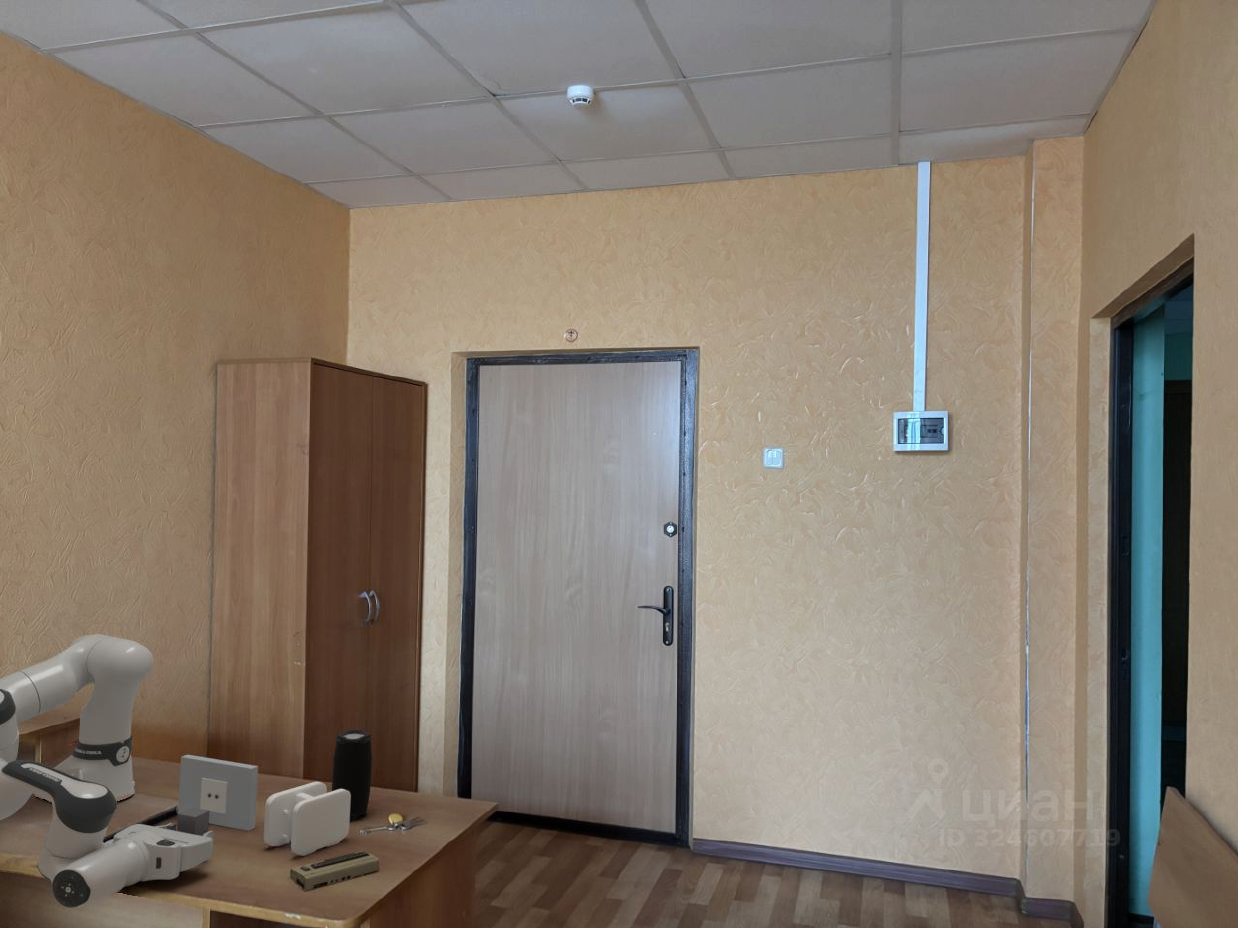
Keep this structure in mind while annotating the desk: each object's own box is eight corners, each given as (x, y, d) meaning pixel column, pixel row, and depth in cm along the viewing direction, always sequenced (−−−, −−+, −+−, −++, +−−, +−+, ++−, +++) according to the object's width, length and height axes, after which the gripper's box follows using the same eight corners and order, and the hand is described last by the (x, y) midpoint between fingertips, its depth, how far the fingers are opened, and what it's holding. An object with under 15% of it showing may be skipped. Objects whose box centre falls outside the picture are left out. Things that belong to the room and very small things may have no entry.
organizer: (291, 862, 187) (294, 806, 187) (261, 848, 193) (263, 794, 193) (349, 840, 200) (352, 787, 200) (319, 828, 206) (321, 777, 206)
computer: (362, 859, 191) (363, 844, 191) (379, 873, 185) (380, 857, 185) (289, 878, 180) (290, 862, 180) (304, 893, 174) (305, 876, 174)
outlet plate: (176, 817, 208) (179, 757, 208) (184, 814, 210) (187, 754, 210) (247, 831, 202) (250, 769, 202) (254, 827, 204) (258, 766, 204)
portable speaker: (343, 806, 219) (348, 726, 220) (376, 812, 216) (381, 731, 217) (322, 818, 211) (326, 735, 212) (355, 824, 208) (360, 740, 209)
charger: (175, 856, 187) (177, 813, 187) (194, 847, 192) (196, 805, 192) (192, 860, 186) (195, 816, 186) (211, 850, 191) (213, 808, 191)
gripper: (96, 862, 178) (151, 837, 191) (179, 880, 172) (230, 853, 185) (98, 830, 178) (153, 807, 191) (181, 847, 172) (232, 822, 185)
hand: (192, 830), depth 188 cm, fingers open, 8 cm apart
